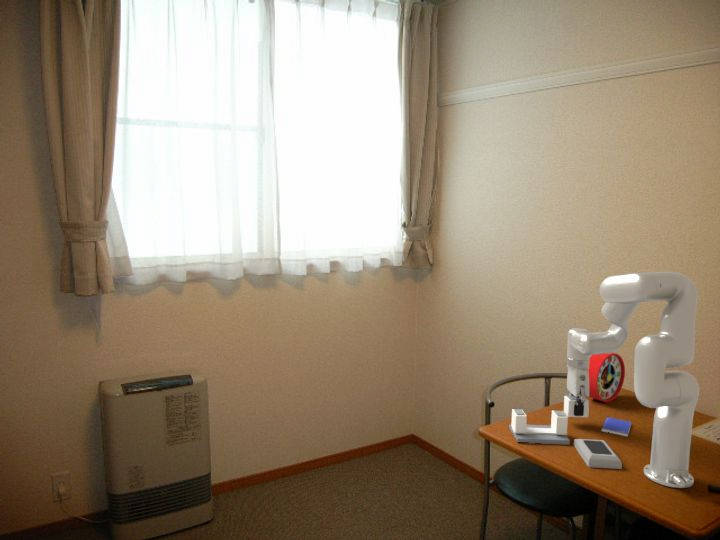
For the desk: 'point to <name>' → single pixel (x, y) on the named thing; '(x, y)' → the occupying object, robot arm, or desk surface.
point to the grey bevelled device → (597, 454)
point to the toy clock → (605, 376)
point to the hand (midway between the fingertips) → (575, 412)
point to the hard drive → (616, 426)
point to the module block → (569, 406)
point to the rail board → (540, 429)
